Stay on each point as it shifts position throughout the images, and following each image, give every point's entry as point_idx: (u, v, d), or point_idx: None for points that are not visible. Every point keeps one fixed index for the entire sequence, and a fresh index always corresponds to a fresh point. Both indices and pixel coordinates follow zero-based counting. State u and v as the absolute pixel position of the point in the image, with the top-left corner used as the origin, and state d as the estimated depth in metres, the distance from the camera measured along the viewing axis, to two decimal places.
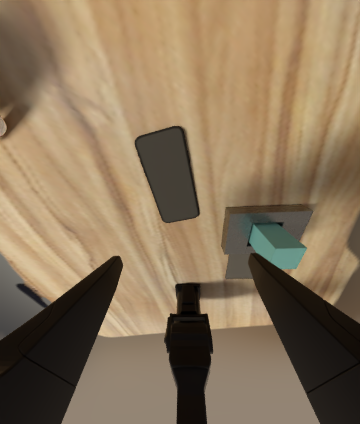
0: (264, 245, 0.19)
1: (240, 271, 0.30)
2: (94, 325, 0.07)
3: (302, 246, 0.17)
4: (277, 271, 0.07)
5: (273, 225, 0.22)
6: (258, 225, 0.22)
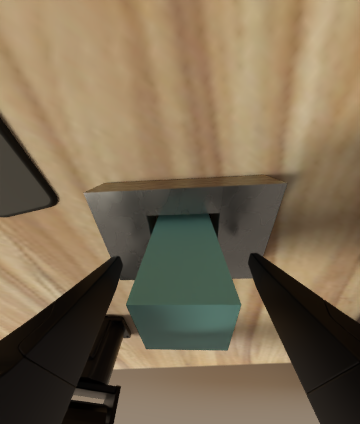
0: None
1: None
2: (94, 325, 0.07)
3: (228, 295, 0.05)
4: (277, 271, 0.07)
5: (197, 221, 0.09)
6: (162, 222, 0.09)
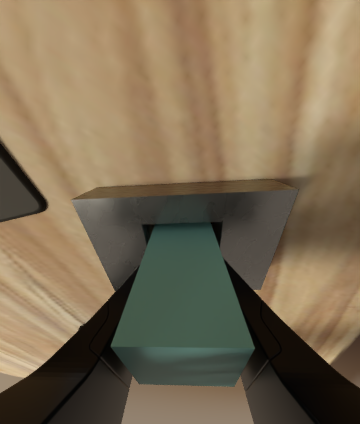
0: None
1: None
2: None
3: (237, 333, 0.04)
4: (230, 272, 0.07)
5: (197, 230, 0.08)
6: (159, 231, 0.08)
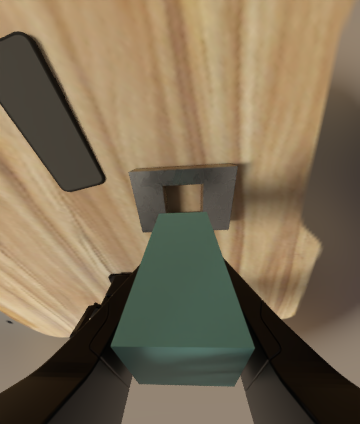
0: None
1: None
2: None
3: (237, 333, 0.04)
4: (230, 272, 0.07)
5: (197, 230, 0.08)
6: (159, 231, 0.08)
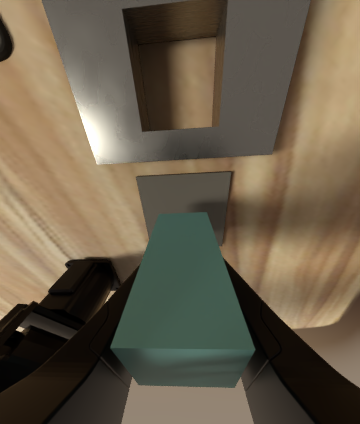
0: None
1: None
2: None
3: (237, 334, 0.04)
4: (230, 272, 0.07)
5: (197, 231, 0.08)
6: (159, 232, 0.08)
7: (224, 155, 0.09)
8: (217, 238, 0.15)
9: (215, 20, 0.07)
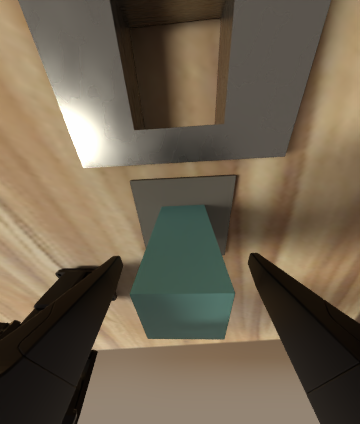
0: None
1: None
2: (94, 325, 0.07)
3: (223, 285, 0.05)
4: (277, 271, 0.07)
5: (195, 219, 0.10)
6: (162, 220, 0.10)
7: (229, 157, 0.08)
8: (219, 247, 0.14)
9: None
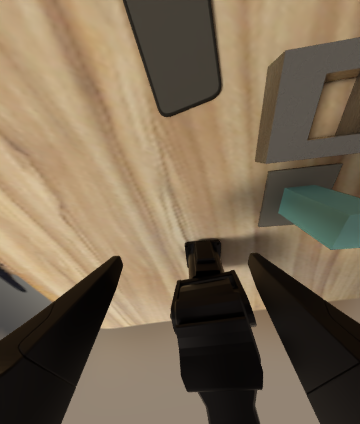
0: (321, 216, 0.13)
1: None
2: (94, 325, 0.07)
3: None
4: (277, 271, 0.07)
5: (325, 191, 0.16)
6: (303, 193, 0.16)
7: (357, 152, 0.14)
8: None
9: None
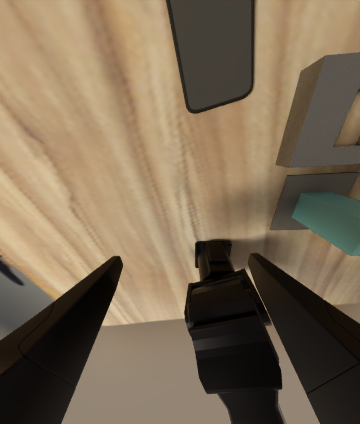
0: (342, 222, 0.14)
1: None
2: (94, 325, 0.07)
3: None
4: (277, 271, 0.07)
5: (343, 198, 0.16)
6: (321, 199, 0.16)
7: None
8: None
9: None
